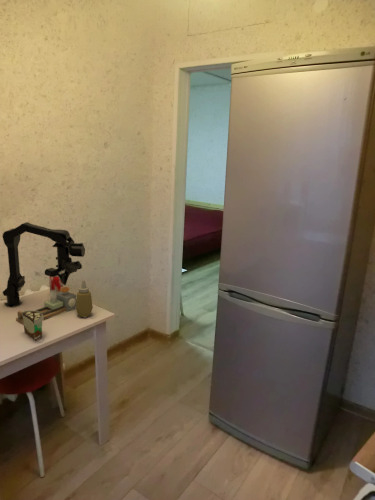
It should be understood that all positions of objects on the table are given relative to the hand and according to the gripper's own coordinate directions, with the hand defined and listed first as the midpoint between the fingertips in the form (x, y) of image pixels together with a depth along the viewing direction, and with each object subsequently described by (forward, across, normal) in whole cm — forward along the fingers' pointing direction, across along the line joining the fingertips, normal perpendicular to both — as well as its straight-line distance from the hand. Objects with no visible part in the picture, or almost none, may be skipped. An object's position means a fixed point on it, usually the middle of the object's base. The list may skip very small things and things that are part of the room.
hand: (64, 284), depth 178 cm
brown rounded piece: (+6, 0, 0) cm, 6 cm away
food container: (+12, -26, -14) cm, 32 cm away
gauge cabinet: (+12, 0, 0) cm, 12 cm away
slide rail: (+12, -14, 0) cm, 18 cm away
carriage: (+9, -7, 0) cm, 12 cm away
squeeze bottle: (+12, 0, -15) cm, 19 cm away
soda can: (+12, +8, +17) cm, 22 cm away
